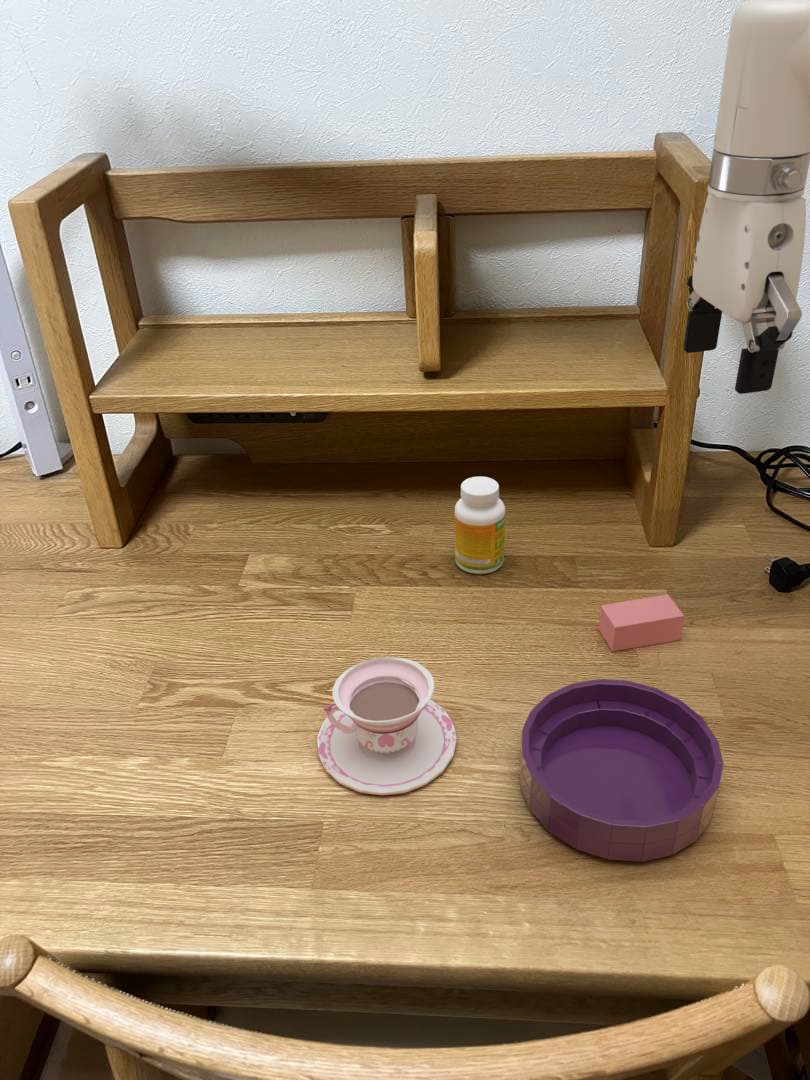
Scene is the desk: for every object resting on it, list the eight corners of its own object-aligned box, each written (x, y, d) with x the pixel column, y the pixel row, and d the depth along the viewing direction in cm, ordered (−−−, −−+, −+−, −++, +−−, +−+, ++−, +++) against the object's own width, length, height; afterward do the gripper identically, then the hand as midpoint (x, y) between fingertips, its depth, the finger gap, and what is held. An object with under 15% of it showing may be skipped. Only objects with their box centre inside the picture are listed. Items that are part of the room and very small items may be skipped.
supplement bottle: (502, 577, 96) (504, 499, 91) (452, 574, 97) (451, 497, 92) (505, 549, 101) (507, 473, 95) (457, 546, 102) (457, 471, 96)
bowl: (661, 704, 80) (667, 666, 77) (750, 843, 67) (761, 803, 65) (496, 734, 77) (497, 696, 75) (557, 884, 65) (561, 845, 62)
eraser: (664, 617, 90) (668, 594, 88) (680, 639, 87) (684, 615, 85) (598, 629, 89) (600, 605, 87) (612, 651, 86) (615, 627, 84)
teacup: (433, 682, 83) (432, 630, 80) (475, 778, 73) (476, 724, 70) (306, 710, 81) (299, 657, 77) (332, 812, 71) (325, 758, 68)
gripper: (865, 192, 67) (816, 403, 76) (745, 150, 81) (716, 332, 90) (772, 201, 65) (734, 414, 75) (667, 157, 80) (646, 341, 89)
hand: (724, 369), depth 83 cm, fingers open, 9 cm apart
